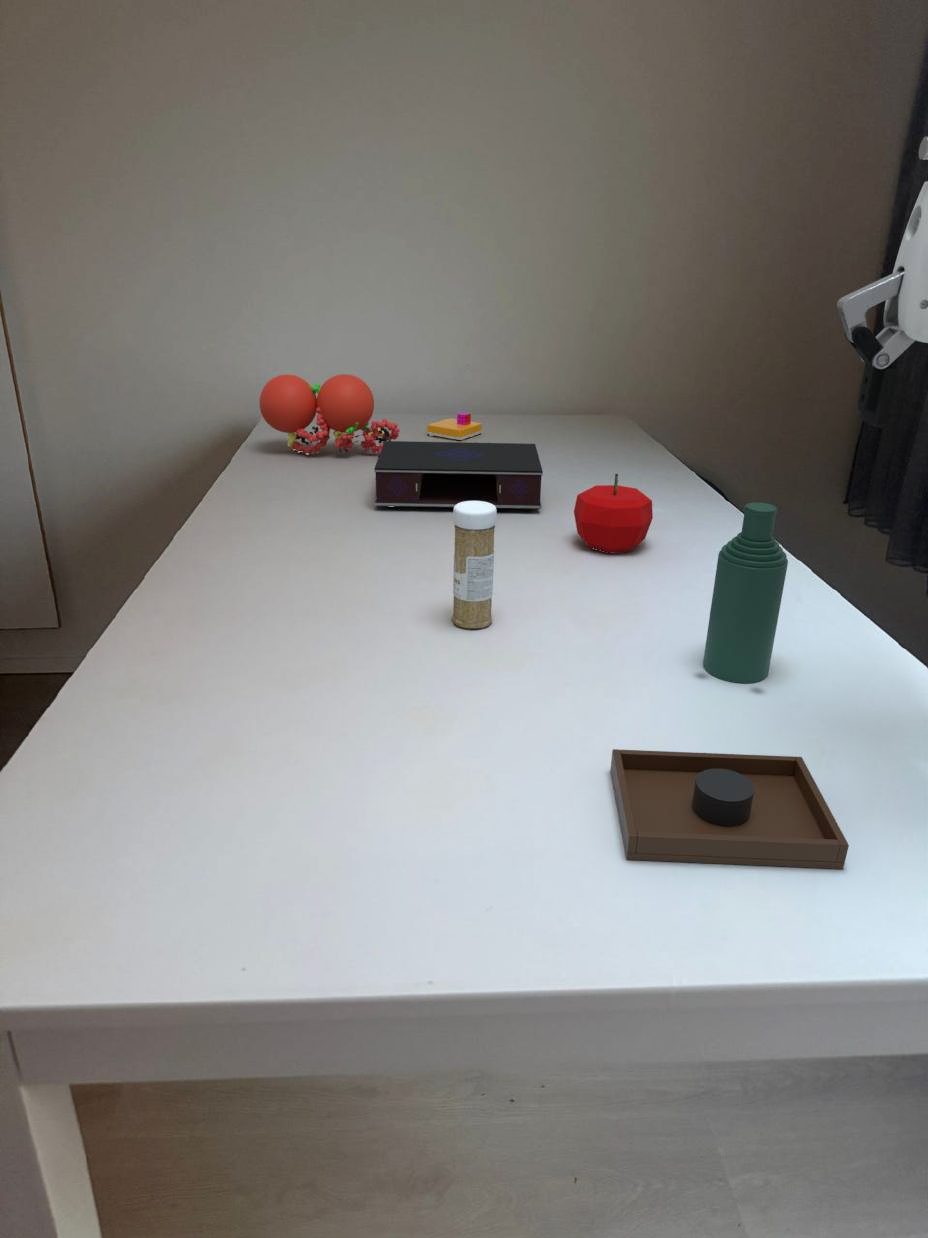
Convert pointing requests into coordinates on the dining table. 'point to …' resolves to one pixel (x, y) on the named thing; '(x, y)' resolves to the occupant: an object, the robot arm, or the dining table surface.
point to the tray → (772, 836)
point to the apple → (613, 517)
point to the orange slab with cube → (455, 426)
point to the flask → (746, 600)
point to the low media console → (458, 474)
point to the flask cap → (722, 797)
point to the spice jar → (473, 563)
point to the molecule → (324, 412)
